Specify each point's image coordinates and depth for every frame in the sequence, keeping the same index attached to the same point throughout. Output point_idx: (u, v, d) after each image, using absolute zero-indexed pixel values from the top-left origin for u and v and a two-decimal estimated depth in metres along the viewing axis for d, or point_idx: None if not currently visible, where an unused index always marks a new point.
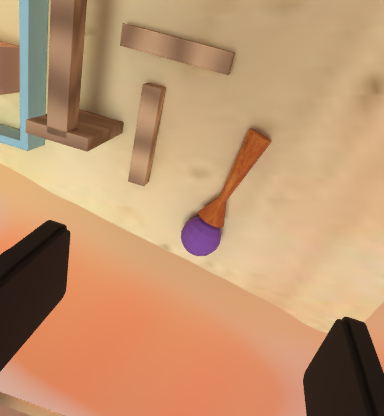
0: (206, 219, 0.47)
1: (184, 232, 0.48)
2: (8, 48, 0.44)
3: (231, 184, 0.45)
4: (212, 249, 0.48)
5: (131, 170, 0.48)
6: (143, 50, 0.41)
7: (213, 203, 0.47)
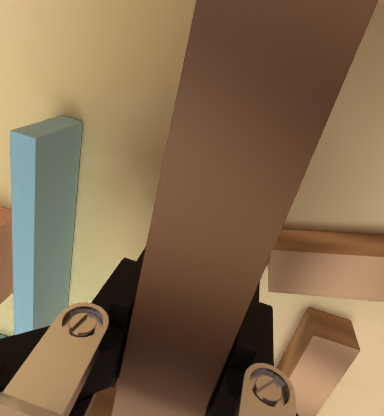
0: None
1: None
2: None
3: None
4: None
5: None
6: (332, 294, 0.16)
7: None
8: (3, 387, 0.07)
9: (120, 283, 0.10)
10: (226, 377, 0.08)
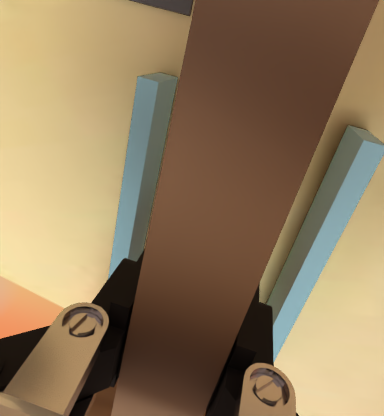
0: None
1: None
2: None
3: None
4: None
5: None
6: None
7: None
8: (3, 387, 0.07)
9: (120, 283, 0.10)
10: (226, 377, 0.08)
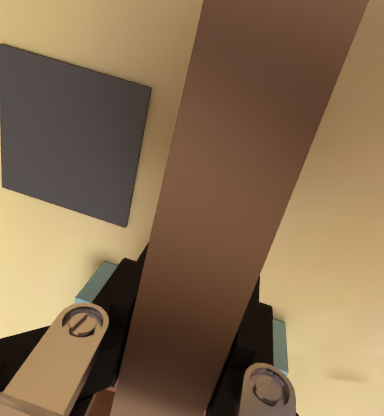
0: None
1: None
2: None
3: None
4: None
5: None
6: None
7: None
8: (3, 387, 0.07)
9: (120, 283, 0.10)
10: (226, 377, 0.08)
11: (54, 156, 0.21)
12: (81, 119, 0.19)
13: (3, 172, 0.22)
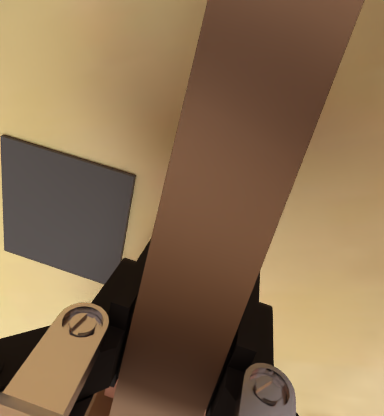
0: None
1: None
2: None
3: None
4: None
5: None
6: None
7: None
8: (3, 387, 0.07)
9: (120, 283, 0.10)
10: (226, 377, 0.08)
11: (51, 227, 0.23)
12: (75, 199, 0.22)
13: (5, 238, 0.24)
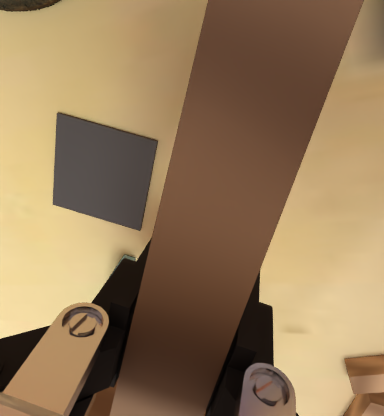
0: None
1: None
2: None
3: None
4: None
5: None
6: None
7: None
8: (3, 387, 0.07)
9: (120, 283, 0.10)
10: (226, 377, 0.08)
11: (91, 183, 0.31)
12: (111, 160, 0.29)
13: (54, 194, 0.32)
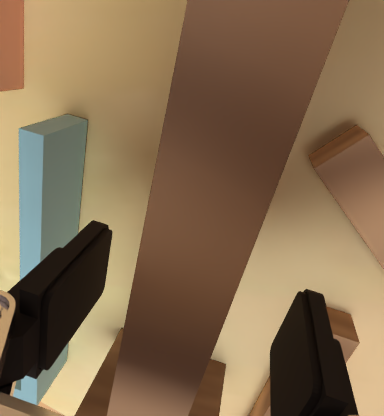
0: None
1: None
2: None
3: None
4: None
5: None
6: (353, 219, 0.15)
7: None
8: None
9: None
10: None
11: None
12: None
13: None
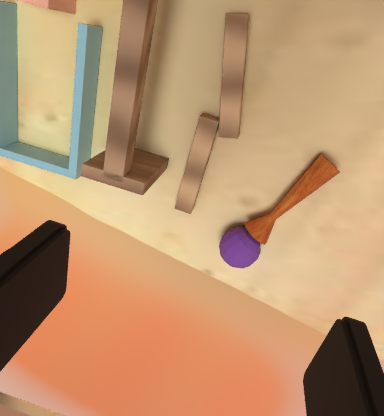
0: (253, 234, 0.46)
1: (226, 242, 0.47)
2: None
3: (288, 205, 0.44)
4: (250, 264, 0.47)
5: (179, 198, 0.48)
6: (225, 43, 0.38)
7: (263, 219, 0.46)
8: None
9: None
10: None
11: None
12: None
13: None
